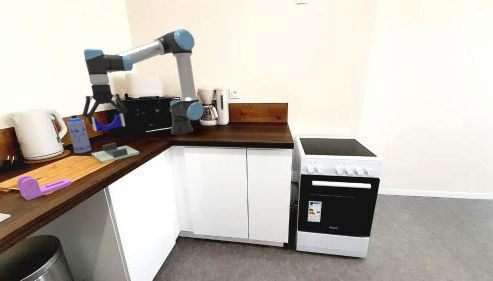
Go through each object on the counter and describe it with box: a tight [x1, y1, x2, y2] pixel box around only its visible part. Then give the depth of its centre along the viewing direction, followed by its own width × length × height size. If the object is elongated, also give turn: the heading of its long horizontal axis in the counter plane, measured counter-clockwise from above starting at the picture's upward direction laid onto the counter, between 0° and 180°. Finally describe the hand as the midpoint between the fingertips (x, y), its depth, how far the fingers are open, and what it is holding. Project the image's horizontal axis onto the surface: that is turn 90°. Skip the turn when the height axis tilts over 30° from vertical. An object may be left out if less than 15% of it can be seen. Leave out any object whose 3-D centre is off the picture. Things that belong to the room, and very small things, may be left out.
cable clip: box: [93, 114, 123, 132], centre depth 110 cm, size 12×4×6 cm, turn 142°
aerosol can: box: [66, 114, 92, 154], centre depth 120 cm, size 8×8×20 cm
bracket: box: [16, 175, 72, 201], centre depth 77 cm, size 13×6×7 cm, turn 149°
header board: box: [91, 142, 140, 163], centre depth 112 cm, size 17×18×4 cm
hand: (109, 128), depth 109 cm, fingers closed on cable clip, 12 cm apart
